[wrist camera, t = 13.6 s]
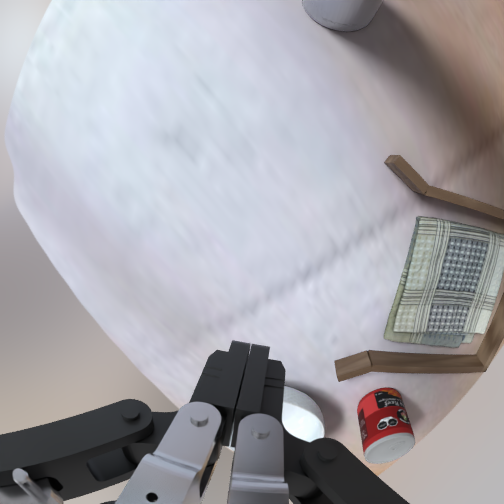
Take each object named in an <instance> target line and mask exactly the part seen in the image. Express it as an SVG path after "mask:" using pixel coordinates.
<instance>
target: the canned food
mask: <svg viewBox="0 0 504 504" xmlns="http://www.w3.org/2000/svg"><path fill="white" fill-rule="evenodd" d="M357 413H358V419H359V425H360V432H361V438H362V445H363V451H364V456H365V459H366V461H367V462H369V463H375V464H379V463H386V462H390V461H393V460H396V459H398V458H400V457H402V456H403V455H405V454H406V453H408V452H409V451H410V450H411V449H412V448H413V446H414V444H415V438H414V434H413V431H412V427H411V424H410V421H409V418H408V415H407V412H406V409H405V407H404V404H403V401H402V398H401V395H400V394H399V393H398V392H397V391H396V390H395V389H393V388H380V389H377V390H374V391H372V392H370V393H368V394H367V395H365V396H364V397H363V398H362V399H361V400H360V402H359V405H358V409H357Z"/></svg>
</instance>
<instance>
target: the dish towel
mask: <svg viewBox="0 0 504 504" xmlns="http://www.w3.org/2000/svg"><path fill="white" fill-rule="evenodd" d="M503 271H504V234H499V233H496V232H492V231H489V230H486V229H483V228H480V227H475V226H470V225H466V224H461V223H457V222H453V221H447V220H442V219H437V218H428V217H421V216H418V217H416V225H415V228H414V233H413V236H412V240H411V245H410V249H409V252H408V256H407V259H406V263H405V266H404V269H403V272H402V276H401V279H400V283H399V286H398V290H397V293H396V296H395V299H394V303H393V306H392V309H391V312H390V314H389V318H388V322H387V326H386V329H385V333H384V339H387V340H390V341H394V342H405V343H417V344H425V345H431V346H444V347H459V345H460V344H461V343H471V342H472V340H473V337H474V334H475V333H480V334H484V333H485V330H486V327H487V325H488V322H489V319H490V316H491V313H492V310H493V307H494V304H495V300H496V297H497V294H498V290H499V287H500V284H501V280H502V276H503Z"/></svg>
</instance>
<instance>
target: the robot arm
mask: <svg viewBox="0 0 504 504" xmlns="http://www.w3.org/2000/svg"><path fill="white" fill-rule="evenodd" d="M382 2H383V0H302V3H303V7H304V9H305V11H306V12H307V13H308V15H309V16H310V17H311V18H312V19H313V20H315V21H316V22H318V23H319V24H321V25H323V26H325V27H327V28H330V29H334V30H337V31H355V30H359V29H361V28H364V27H365V26H367V25H368V24H369V23H370V22H371V20H372V19H373V17H374V15H375V13H376V12H377V10H378V9H379V7H380V5H381V3H382ZM269 349H270V347H268V346H262V345H256V344H252V346H251V350H250V343H244V342H239V341H234V340H233V341H232V343H231V346H230V349H229V352H225V351H220V350H216V351H215V352H214V353H213V354H211V355H210V356H209V357H208V360H207V362H206V365H205V367H204V369H203V372H202V375H201V376H200V379H199V381H198V383H197V386H196V388H195V390H194V393H193V395H192V398H191V400H190V402H189V403H188V404H185V405H184V406H182V407H181V408H180V410H178V411H175V412H165V413H164V412H151V409H150V408H149V407H148V406H147V405H146V404H145V403H143V402H141V401H138V400H135V399H126V400H122V401H119V402H116V403H113V404H110V405H108V406H104V407H101V408H98V409H95V410H92V411H89V412H86V413H83V414H80V415H76V416H73V417H70V418H66V419H62V420H59V421H56V422H52V423H48V424H44V425H40V426H36V427H32V428H28V429H24V430H20V431H16V432H12V433H6V434H2V435H0V504H63V501H66V500H69V499H73V498H76V497H80V496H83V495H86V494H89V493H92V492H95V491H98V490H101V489H104V488H107V487H109V486H112V485H115V484H117V483H120V482H123V481H125V480H128V479H130V480H129V481H128V483H127V485H126V486H125V488H124V489H123V491H122V493H121V495H120V496H119V498H118V499H117V500H116V501H109V502H104V503H101V504H201V503H202V500H203V497H204V495H205V492H206V490H207V487H208V485H209V482H210V480H211V477H212V475H213V472H214V470H215V467H216V464H217V461H218V459H219V456H220V453H221V449H222V446H228V447H229V444H230V440H231V436H232V441H231V447H234V448H235V451H234V457H233V462H232V469H231V476H230V484H229V491H228V499H227V504H289V499H290V500H291V501H292V502H293V504H409V503H408V502H407V501H406V500H405V499H403V498H402V497H401V496H400V495H399V494H397V493H396V492H395V491H393V490H392V489H391V488H390V487H389V486H388V485H387V484H385V483H384V482H383V481H382V480H381V479H380V478H379V477H378V476H376V475H375V474H374V473H373V472H372V471H371V470H370V469H369V468H368V467H366V466H365V465H364V464H363V463H362V462H361V461H360V460H359V459H358V458H357V457H355V456H354V455H353V454H352V453H351V452H350V451H349V450H348V449H347V448H346V447H345V446H344V445H343V444H341V443H340V442H338V441H337V440H334V439H331V438H318V439H315V440H313V441H311V442H308V441H305V440H302V439H300V438H297V437H295V436H293V435H292V434H290V433H289V432H288V431H287V430H286V429H285V427H284V425H283V423H282V411H283V398H284V384H285V368H284V366H283V364H282V362H281V361H277V360H271V359H268V356H269ZM249 351H250V354H249ZM232 432H233V434H232Z"/></svg>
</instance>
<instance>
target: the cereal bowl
mask: <svg viewBox="0 0 504 504" xmlns="http://www.w3.org/2000/svg"><path fill="white" fill-rule="evenodd" d="M282 423H283V425H284V427H285V429H286V430H287V431H288V432H289V433H290V434H292V435H293V436H295V437H297V438H300V439H302V440H305V441H308V442H311V441H313V440H315V439H318V438H324V434H325V423H324V419H323V415H322V412H321V410H320V408H319V407H318V405H317V404H316V403H315V401H313V400H312V399H311V398H310V397H309V396H308V395H306V394H305V393H302V392H301V391H299V390H296V389H293V388H290V387H287V386H284V398H283V411H282ZM232 434H233V432H232ZM231 441H232V436H231V440H230V444H229V447H228V446H227V447H228V448H230V449H231V450H233V451H235V448H234V447H231Z"/></svg>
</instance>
